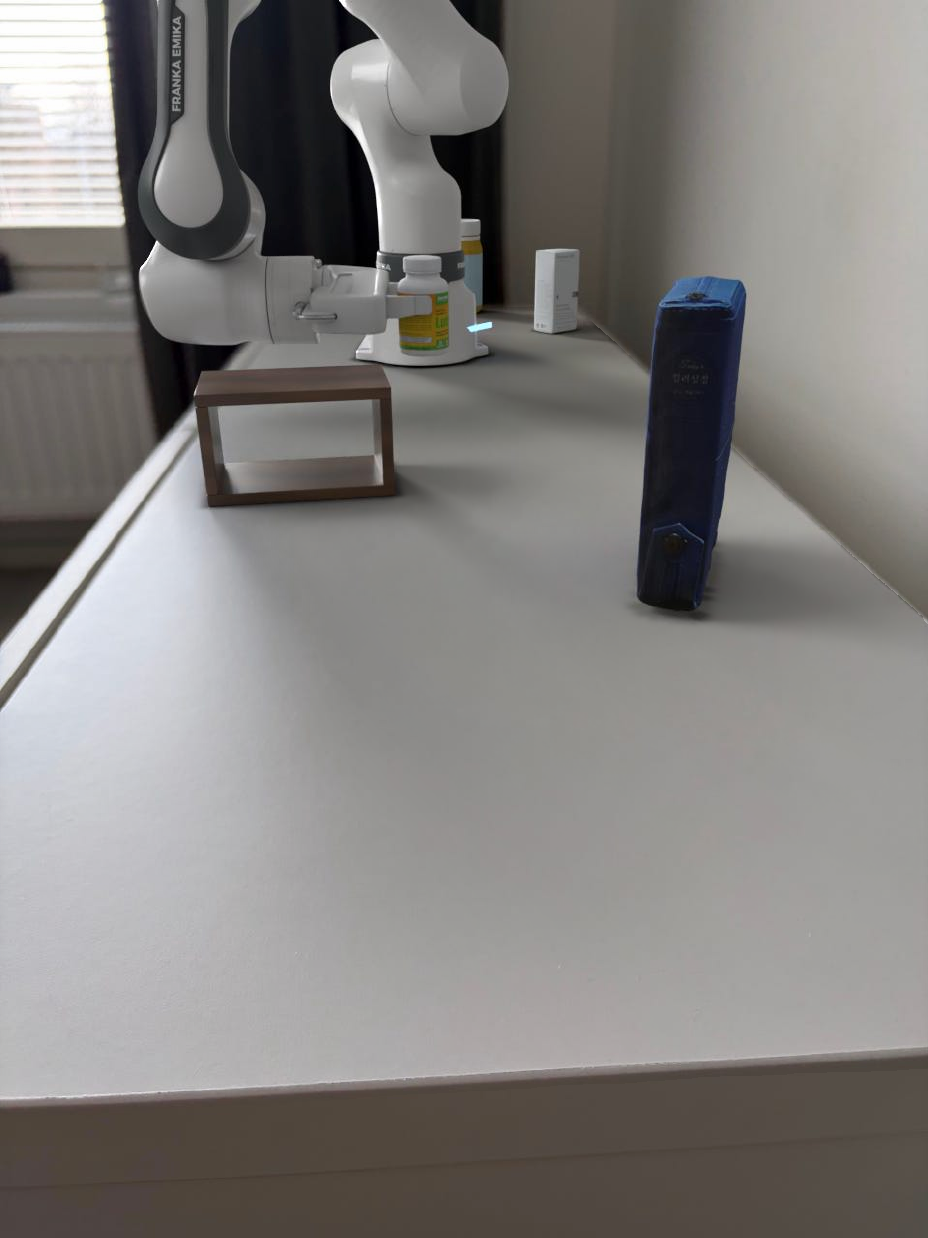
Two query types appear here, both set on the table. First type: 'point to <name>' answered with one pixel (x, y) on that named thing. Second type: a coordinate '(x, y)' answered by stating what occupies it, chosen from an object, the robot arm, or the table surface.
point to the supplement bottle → (424, 330)
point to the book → (688, 437)
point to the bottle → (472, 258)
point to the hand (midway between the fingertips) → (431, 298)
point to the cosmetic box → (556, 290)
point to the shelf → (297, 474)
